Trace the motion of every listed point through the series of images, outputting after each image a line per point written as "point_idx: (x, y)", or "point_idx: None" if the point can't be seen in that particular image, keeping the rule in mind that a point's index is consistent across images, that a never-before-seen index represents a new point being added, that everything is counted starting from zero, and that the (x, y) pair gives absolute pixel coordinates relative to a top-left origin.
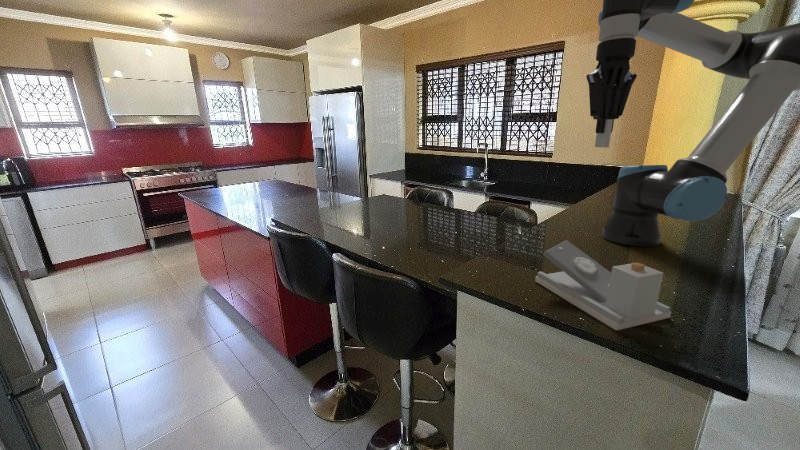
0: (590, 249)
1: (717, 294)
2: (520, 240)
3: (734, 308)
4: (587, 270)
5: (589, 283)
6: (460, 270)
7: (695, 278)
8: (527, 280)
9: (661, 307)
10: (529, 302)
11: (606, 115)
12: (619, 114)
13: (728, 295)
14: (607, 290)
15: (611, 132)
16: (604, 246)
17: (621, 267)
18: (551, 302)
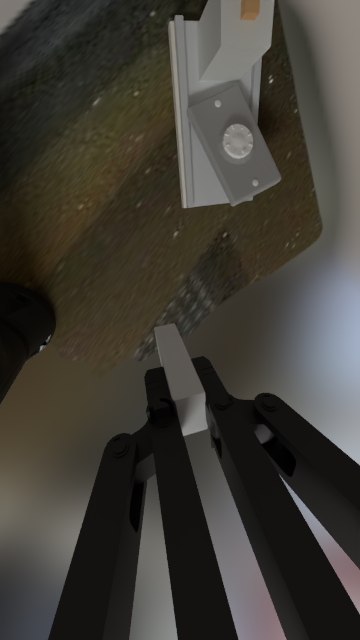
0: (108, 287)
1: (26, 65)
2: (182, 331)
3: (39, 4)
4: (243, 127)
5: (247, 111)
6: (299, 250)
7: (15, 138)
8: (254, 204)
9: (183, 27)
10: (291, 144)
11: (227, 403)
12: (129, 438)
13: (7, 53)
14: (226, 96)
15: (147, 370)
16: (77, 295)
17: (261, 35)
18: (271, 135)
